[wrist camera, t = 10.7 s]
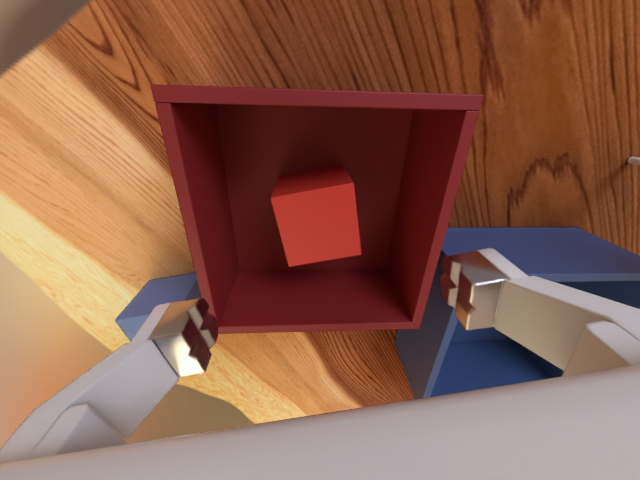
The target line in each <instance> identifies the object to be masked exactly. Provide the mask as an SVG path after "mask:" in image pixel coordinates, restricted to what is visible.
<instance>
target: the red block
mask: <svg viewBox="0 0 640 480" xmlns="http://www.w3.org/2000/svg"><path fill="white" fill-rule="evenodd" d="M270 199H271V203H272V207H273V210H274V214H275V218H276V222H277V225H278V229H279V233H280V236H281V240H282V244H283V248H284V251H285V255H286V259H287V262H288V266H289V267H292V266H298V265H304V264H310V263H316V262H321V261H327V260H333V259H339V258H345V257H351V256H357V255H361V243H360V234H359V225H358V215H357V206H356V196H355V187H354V183H353V181H352V179H351V178H350V176H349V174H348V173H347V171H346V170H345V168H344V166H343V165H339V166H333V167H328V168H322V169H317V170H311V171H306V172H300V173H295V174H289V175H283V176H278V178H277V181H276V183H275V186H274V189H273V192H272V195H271V198H270Z"/></svg>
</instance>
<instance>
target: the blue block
mask: <svg viewBox="0 0 640 480" xmlns="http://www.w3.org/2000/svg"><path fill="white" fill-rule="evenodd" d="M197 298H201V293H200V289H199V285H198V281H197V277H196V272H195V273H189V274H183V275H178V276H172V277H166V278H160V279H155V280H149V281H148V282H147V284H146V285H145V286H144V287H143V288H142V289H141V291H140V292H139V293H138V294H137V295H136V296H135V297H134V299H133V300H132V301H131V302H130V303H129V304H128V306H127V307H126V308H125V309H124V310H123V311H122V312H121V314H120V315H119V316H118V317H117V318H116V319H115V321H116V323H117V324H118V325H119V327H120V328H121V329H122V331H123V332H124V333H125V335H126V336H127V337H128V339H129V340H130V342H131V340H132V339H133V338H134V336H135V335H136V333H137V332H138V331H139V329H140V328H141V326H142V325H143V323H144V322H145V321H146V319H147V318H148V316H149V315H150V314H151V312H152V311H153V309H154V308H155V307H156V306H158V305H160V304H165V303H171V302H177V301H184V300H190V299H197Z"/></svg>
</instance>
